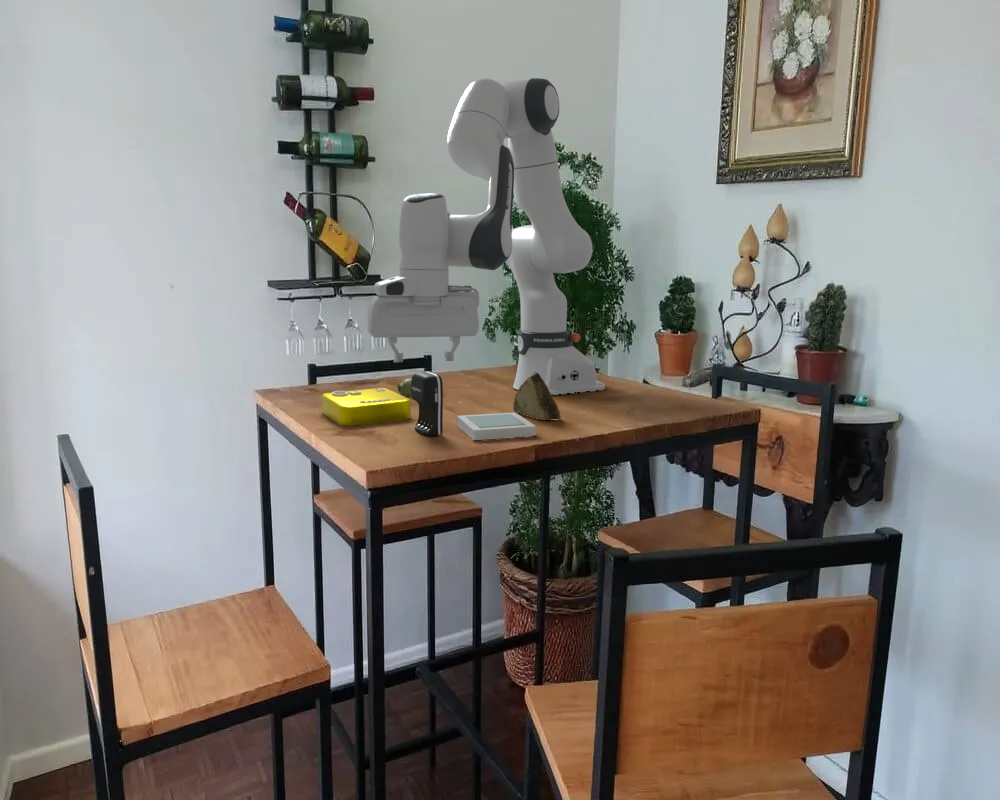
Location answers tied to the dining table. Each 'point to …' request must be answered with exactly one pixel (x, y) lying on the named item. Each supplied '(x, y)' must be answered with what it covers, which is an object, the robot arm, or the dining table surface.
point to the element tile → (365, 406)
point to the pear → (405, 387)
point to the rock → (536, 399)
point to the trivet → (495, 426)
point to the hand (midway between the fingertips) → (423, 361)
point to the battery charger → (428, 402)
